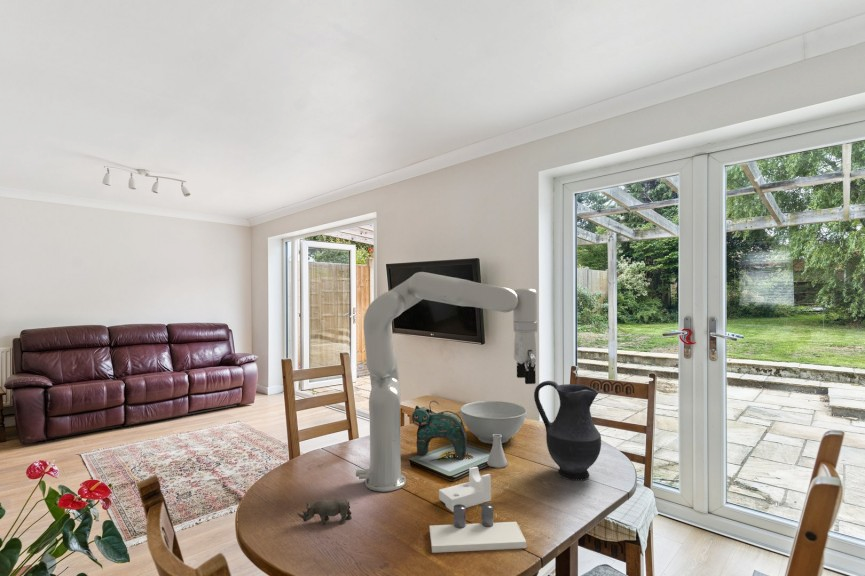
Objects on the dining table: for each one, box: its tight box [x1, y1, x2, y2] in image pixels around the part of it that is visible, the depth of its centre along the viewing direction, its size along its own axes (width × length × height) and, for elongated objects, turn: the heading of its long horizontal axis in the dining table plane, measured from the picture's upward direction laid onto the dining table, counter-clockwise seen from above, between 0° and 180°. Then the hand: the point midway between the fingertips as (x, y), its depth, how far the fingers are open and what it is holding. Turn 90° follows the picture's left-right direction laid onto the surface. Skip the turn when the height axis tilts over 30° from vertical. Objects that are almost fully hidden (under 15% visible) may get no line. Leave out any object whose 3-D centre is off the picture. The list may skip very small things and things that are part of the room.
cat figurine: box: [411, 400, 468, 460], centre depth 163 cm, size 20×6×20 cm, turn 72°
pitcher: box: [533, 380, 602, 481], centre depth 146 cm, size 17×21×30 cm
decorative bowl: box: [459, 400, 528, 445], centre depth 180 cm, size 27×27×12 cm
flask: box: [486, 434, 509, 468], centre depth 154 cm, size 7×7×10 cm
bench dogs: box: [453, 502, 494, 528], centre depth 112 cm, size 10×3×6 cm, turn 94°
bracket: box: [438, 466, 492, 513], centre depth 128 cm, size 13×7×8 cm, turn 119°
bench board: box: [429, 521, 527, 554], centre depth 108 cm, size 22×9×2 cm, turn 94°
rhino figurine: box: [297, 497, 353, 526], centre depth 116 cm, size 4×14×6 cm, turn 98°
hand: (525, 380), depth 143 cm, fingers open, 9 cm apart
